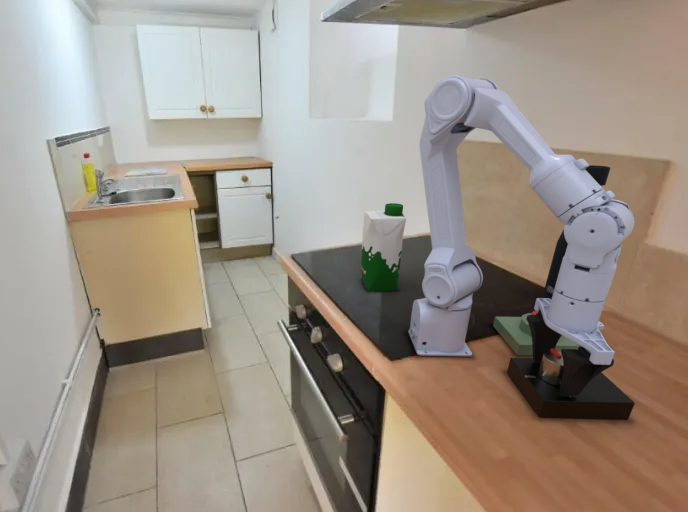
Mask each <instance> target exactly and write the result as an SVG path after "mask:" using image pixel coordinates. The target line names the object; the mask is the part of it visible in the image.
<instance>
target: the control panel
mask: <svg viewBox="0 0 688 512" xmlns="http://www.w3.org/2000/svg"><path fill="white" fill-rule="evenodd" d="M540 365H541V362H537V361H534V360H533V357H510V358H509V362H508V367H507V372H506V373H507V375H508V376H509V378H510V380H511V381H512V382H513V383H514V384H515V386H516V388H517V389H518V390H519V391H520V393H521V395H522V396H523V397H524V399H525V400H526V401H527V402H528V405H530V407H531V408H532V410H533V411H534V412H535V414H536V415H537V416H538V418H546V419H575V420H576V419H579V420H580V419H581V420H611V421H613V420H617V421H618V420H619V421H628V420H629V418H630V416H631V414H632V412H633V409H634V407H635V404H636V402H635V401H634V400H632V399H631V398H630V397H629V396H628V395H627V394H626V393H625V392H624V391H623V390H621V388H619V387H618V386H617V384H615V383H614V382H613V381H612V380H611V379H609V377H607V376H606V375H605V374H604V373H603V371H602V372H601V373H599V374H598V375H597V376H595V377H594V378H593V379H592V380H591V381H590V382H589V383H588V384H587V385H586V386H585V388H584V389H583V390H582V391H581V392H580V394H579V395H563V394H562V392H561V386H556V385H552V384H550V383H547V382H546V381H544V380H543V379H541V378H540V376H539V374H538V372H539V368H540Z"/></svg>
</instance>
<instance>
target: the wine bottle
mask: <svg viewBox="0 0 688 512" xmlns="http://www.w3.org/2000/svg"><path fill="white" fill-rule="evenodd" d="M585 170H586V171H587V172H588V173H589V174H590V175H591V176H592V177H593V178H594V179H595V181H596V182H597V183H598V184H599V185H600V186H601V187H603V186H606V184H607V181H608V179H609V178H608V177H609V175H610V171H611V167H610V166H607V165H595V164H594V165H590V164H589V167H587V168H586V169H585ZM567 246H568V243H567V241H566V239H565V236H564V229H562V232H561V234H560V236H559V237H558V239H557V241H556V244H555V248H554V251H553V255H552V260H551V263H550V267H549V270H548V275H547V276H546V277H547V278H546V281H545V284H544V285H545V286H544V288H543V289H544V290H543V293H542V296H541V298H549V299H551V300H552V296H553V292H554V289H555V285H556V282H557V278H558V274H559V271H560V267H561V264H562V260H563V257H564V256H565V253H566V249H567Z"/></svg>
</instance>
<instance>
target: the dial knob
mask: <svg viewBox="0 0 688 512" xmlns="http://www.w3.org/2000/svg"><path fill="white" fill-rule="evenodd" d="M563 368H564V366H563V357H562V354H561V351H557V350H556V349H555V348H551V350H547V351H545V352H544V354H543V358H542V361H541V365H540V368H539V372H538V374H539V376H540V378H541V379H543V380H544V381H546V382H547V383H550V384H552V385H556V386H561V381H562V377H563Z"/></svg>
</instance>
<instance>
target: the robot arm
mask: <svg viewBox="0 0 688 512" xmlns="http://www.w3.org/2000/svg"><path fill="white" fill-rule="evenodd" d="M423 103H424V112H425V119H424V122H423V126H422V131H421V134H420V138H419V153H420V162H421V170H422V177H423V185H424V193H425V201H426V202H425V203H426V210H427V217H428V225H429V233H430V234H429V235H430V241H431V249H432V250H431V251H430V253H429V255H428V257H427V259H426V260H425V262H424V265H423V266H424V277H423V279H422V282H421V289H422V293H423V295H424V297H423V298H417V299H414V301H413V303H412V308H411V315H410V324H409V325H410V326H409V329H408V335H409V338H410V341H411V343H412V345H413V347H414V350H415V352H416V354H417V355H418V356H425V357H429V356H433V357H472V356H473V352H472V351H471V349H470V347H469V346H468V344H467V343H466V339H467V338H466V337H467V332H468V328H469V322H470V316H471V310H472V305H473V297H474V296H473V295H474V293H476V292H477V291H478V290H479V289H480V288H481V287H482V284H483V282H484V275H483V271H482V269H481V267H480V266H479V264H478V263H477V258H476V252H474V250H473V249H472V248H471V247H470V246H469V245H468V244H467V236H466V235H467V234H466V227H465V217H464V207H463V198H462V190H461V181H460V172H459V162H458V153H457V149H458V147H459V146H460V145H461V143H462V142H463V141H464V140H465V139H466V138H467V136H468V135H469V134H470V133H472V132H473V131H474V130H476V129H479V130H485V131H490V132H491V133H492V134H493V135H494V136H495V137H496V138H497V139H498V140H499V141H500V142H501V143H502V144H503V145H504V146H505V147H506V148H507V149H508V150H509V151H510V152H511V153H512V154H513V155H514V156H515V157H516V158H517V159H518V160H519V161H520V162H521V163H522V164H523V165H524V166H525V168H527V169H528V170H529V172H530V175H529V185H528V186H529V187H530V188H531V189H532V191H533V192H534V193H535V194H536V195H537V197H538V198H539V200H541V201H542V203H544V204H545V206H546V207H547V208H548V209H549V210H550V212H551V213H552V214H553V215H554V216H555V217H556V218H557V220H558V221H559V222H560V223H562V224H563V225H564V228H563V230H564V236H565V239H566V241H567V243H568V246H567V249H566V253H565V256H564V257H563V260H562V264H561V267H560V271H559V274H558V278H557V282H556V285H555V289H554V292H553V296H552V300H551V299H549V298H542V297H537V298H535V303H534V306H533V309H534V311H537V312H538V313H536V315H528V316H527V321H528V324H529V327H530V330H531V336H532V350H533V355H532V358H533V360H534V361H537V362H541V361H542V358H543V354H544V352H545V351H547V350H551V348H555V347H556V345H557V342H558V341H559V339H560V337H561V336H562V335H563V336H565V337H566V338H568V339H570V340H572V341H573V342H575V343H576V344H577V345H578V346H580V347H579V348H578V350H577V349H561V354H562V357H563V366H564V368H563V377H562V381H561V392H562V394H563V395H579V394H580V392H581V391H582V390H583V389H584V388H585V386H586V385H587V384H588V383H589V382H590V381H591V380H592V379H593V378H594V377H595V376H597V375H598V374H599V373H601V372H602V373H603V372H604V371H606V370H607V369H609V368H611V367H613V366H614V363H615V359H614V356H615V353H616V351H614V350H613V349H612V348H611V347H610V346H609V344H608V343H607V341H606V339H605V337H604V336H603V334H602V332H601V331H603V330H604V327H605V325H604V323H602V322H601V321H600V319H601V315H602V312H603V310H604V307H605V305H606V304H605V303H606V300H607V297H608V296H609V291H610V289H611V286H612V283H613V281H614V277H615V274H616V271H617V267H618V264H617V263H618V260H619V259H620V257H621V250H622V248H623V245H622V242H624V241H625V240H626V239H627V238H629V236H630V235H631V234H632V233H633V230H634V227H635V223H636V221H635V216H634V213H633V212H632V210H631V208H630V205H629V204H627V203H626V202H624V201H623V200H618V199H615V197H616V194H615V193H614V192H613V190H610V189H609V190H607V191H606V190H605V189H604V188H603V186H600V185H599V184H598V183H597V182H596V181H595V179H594V178H593V177H592V176H591V175H590V174H589V173H588V172H587V171H586V170H585V169H586V168H587V167H589V165H590V164H589V163H588V161H586V160H585V159H584V158H578V159H576V158H575V157H574V156H573V155H572V154H556V153H555V151H553V150H552V148H551V147H550V146H549V144H547V142H546V141H545V140H544V138H543V137H542V136H541V135H540V133H539V132H538V131H537V130H536V129H535V127H534V126H533V125H532V124H531V122H529V121H530V120H528V119H527V118H526V117H525V115H524V114H523V113H522V111H521V110H520V109H519V108H518V107H517V105H516V104H515V103H514V101H513V100H512V98H511V97H510V95H509V94H508V93H506V92H505V91H504V90H503V89H499V87H498V85H497V84H496V83H495V82H494V81H493V80H491V79H488V78H471V77H463V76H461V75H456V74H451V75H448V76H445V77H442V79H440V80H439V81H438V82H437V83H436V84H435V86H434V87H433V88H432V90H431V91H430V93H429V94H428V95H427V97H426V99H425V100H424V102H423Z"/></svg>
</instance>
